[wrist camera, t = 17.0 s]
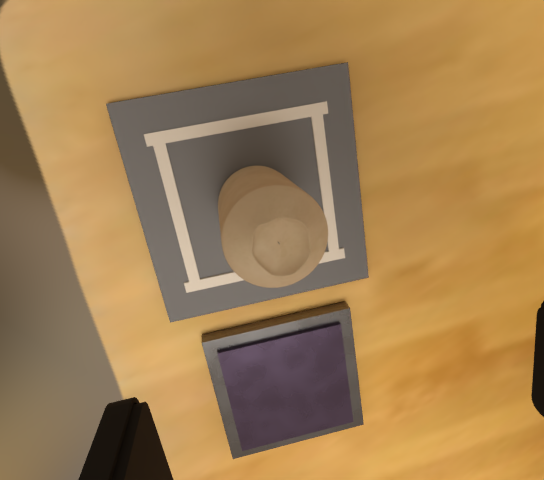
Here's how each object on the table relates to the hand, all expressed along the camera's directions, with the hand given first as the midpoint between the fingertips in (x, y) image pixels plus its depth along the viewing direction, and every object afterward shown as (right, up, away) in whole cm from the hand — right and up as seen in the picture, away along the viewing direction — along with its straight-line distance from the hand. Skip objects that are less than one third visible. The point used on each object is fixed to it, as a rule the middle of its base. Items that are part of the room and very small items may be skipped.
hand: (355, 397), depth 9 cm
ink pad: (-1, -8, +24) cm, 25 cm away
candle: (-3, +6, +19) cm, 20 cm away
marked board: (-3, +7, +19) cm, 20 cm away
